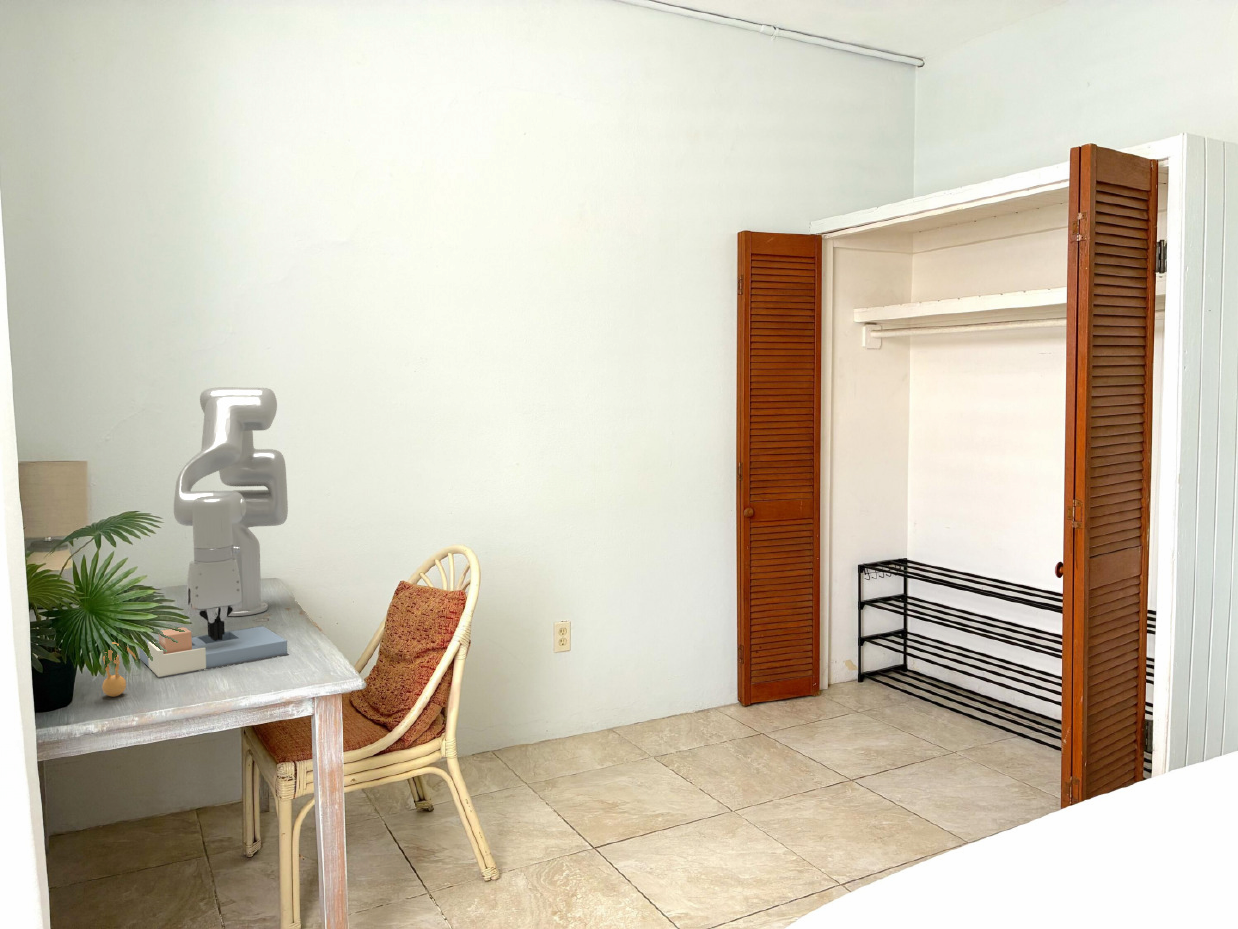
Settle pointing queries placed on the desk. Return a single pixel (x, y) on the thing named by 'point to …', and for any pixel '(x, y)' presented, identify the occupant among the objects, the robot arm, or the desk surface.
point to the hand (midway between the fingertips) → (216, 638)
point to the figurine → (114, 677)
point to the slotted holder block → (217, 652)
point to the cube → (181, 637)
